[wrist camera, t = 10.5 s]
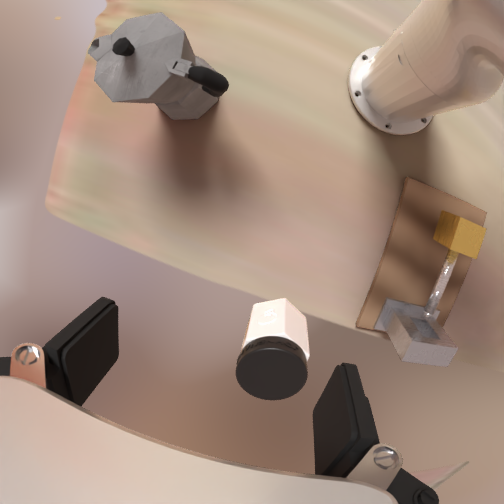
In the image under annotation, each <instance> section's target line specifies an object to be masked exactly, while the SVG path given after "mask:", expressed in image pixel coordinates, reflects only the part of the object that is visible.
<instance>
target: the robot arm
mask: <svg viewBox="0 0 504 504" xmlns="http://www.w3.org/2000/svg"><path fill="white" fill-rule="evenodd" d="M362 58H363V59H365V61H364V60H363V59H362ZM503 80H504V0H422V1H421V2H420V4H419V5H418V6H417V7H416V8H415V10H414V11H413V12H412V13H411V14H410V15H409V16H408V17H407V19H406V20H405V21H404V22H403V23H402V24H401V25H400V27H399V28H398V29H395V30H394V31H393V34H392V36H391V37H390V38H389V39H388V40H387V41H386V43H385V44H384V45H383V46H376V47H372V48H369V49H367V50H365V51H364V52H362V53H361V54H360V55H359V56H358V57H357V58H356V59H355V60H354V62H353V63H352V66H351V68H350V70H349V75H348V88H349V93H350V96H351V99H352V101H353V103H354V105H355V107H356V108H357V110H358V112H359V113H360V114H361V115H362V116H363V118H364V119H365V120H367V121H368V122H369V123H370V124H371V125H373V126H374V127H376V128H377V129H379V130H381V131H384V132H386V133H389V134H394V135H408V134H412V133H416V132H418V131H420V130H421V129H423V128H424V127H426V126H427V125H428V124H429V122H430V121H431V119H432V117H433V115H436V114H440V113H444V112H448V111H452V110H456V109H460V108H464V107H468V106H472V105H476V104H480V103H482V102H485V101H487V100H488V99H490V98H491V97H493V96H494V95H495V93H496V92H497V91H498V90H499V88H500V87H501V84H502V82H503ZM355 94H358V97H356V96H355ZM421 119H422V121H421ZM385 125H387V126H388V128H386V126H385ZM118 345H119V344H118V306H117V305H115V302H114V301H113V300H110V299H108V298H105V297H101V298H100V299H98V300H97V301H96V302H95V303H93V304H92V305H91V306H90V307H89V308H87V309H86V310H85V311H84V312H83V313H81V314H80V315H79V316H78V317H77V318H75V319H74V320H73V321H72V322H71V323H69V324H68V325H67V326H66V327H65V328H64V329H62V330H61V331H60V332H59V333H58V334H57V335H55V336H54V337H53V338H52V339H51V340H50V341H49V342H47V343H46V344H45V346H44V347H43V348H41V347H39V346H38V345H36V344H33V343H23V344H21V345H18V346H17V347H16V348H15V349H14V350H13V351H12V355H11V357H0V504H439V499H438V496H437V494H436V492H435V491H434V490H433V489H432V488H430V487H429V486H427V485H426V484H424V483H423V482H421V481H420V480H418V479H417V478H415V477H414V476H412V475H411V474H409V473H408V472H406V471H405V470H404V469H402V468H401V466H402V462H403V458H402V456H401V453H400V452H399V451H398V450H397V449H396V448H395V447H393V446H391V445H389V444H385V443H382V444H380V443H379V439H378V434H377V430H376V426H375V422H374V418H373V415H372V411H371V407H370V404H369V400H368V398H367V397H366V396H365V394H364V390H363V387H362V383H361V379H360V376H359V373H358V369H357V366H356V365H354V364H349V363H342V364H341V365H340V366H339V365H337V366H336V368H335V370H334V372H333V374H332V376H331V378H330V380H329V382H328V384H327V386H326V388H325V389H324V391H323V393H322V395H321V397H320V399H319V401H318V402H317V404H316V406H315V408H314V410H313V429H314V451H315V475H314V474H305V473H295V472H289V471H282V470H276V469H269V468H263V467H258V466H252V465H247V464H242V463H238V462H233V461H228V460H224V459H220V458H216V457H212V456H209V455H205V454H201V453H198V452H194V451H190V450H187V449H184V448H181V447H177V446H175V445H172V444H169V443H166V442H163V441H160V440H157V439H154V438H152V437H149V436H146V435H144V434H141V433H138V432H136V431H133V430H131V429H128V428H126V427H124V426H121V425H119V424H117V423H114V422H112V421H110V420H108V419H106V418H103V417H101V416H99V415H97V414H95V413H93V412H91V411H89V410H87V409H85V408H83V407H81V406H82V404H83V403H84V402H85V401H86V399H87V398H88V397H89V396H90V394H91V393H92V391H93V390H94V389H95V388H96V386H97V385H98V384H99V383H100V381H101V380H102V379H103V377H104V376H105V375H106V374H107V372H108V371H109V370H110V368H111V367H112V366H113V365H114V363H115V362H116V361H117V359H118V355H119V346H118Z"/></svg>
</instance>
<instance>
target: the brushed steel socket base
mask: <svg viewBox="0 0 504 504" xmlns="http://www.w3.org/2000/svg"><path fill="white" fill-rule="evenodd" d="M424 308H425V306H421V305H417V304H413V303H409V302H405V301H401V300H397V299H392V298H388V297H386V299H385V301H384V304H383V306H382V308H381V310H380V313H379V315H378V317H377V320H376V322H375V324H374V326H373V328H374V329H377V330H382V331H386V332H387V334H388V336H389V338H390V340H391V341H392V343H393V345H394V347H395V349H396V351H397V353H398V355H399V357H400V359H401V361H403V362H412V363H418V364H426V365H435V366H444V367H448V365H449V364H450V362H451V360H452V359H453V357H454V355H455V354H456V352H457V350H458V347H457V346H456V345H455V343H454V342H453V341H452V339H451V338H450V337H449V335H448V334H447V333H446V332H445V330H444V329H443V328H442V327H441V325H440V324H439V323H438V322H437V320H436V319H437V317H438V315H439V313H440V311H439V310H438V309H436V310H435V312H434V314H433V316H432V317H430V318H427V317H425V316H424V314H423V310H424Z"/></svg>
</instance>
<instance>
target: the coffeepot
mask: <svg viewBox="0 0 504 504" xmlns="http://www.w3.org/2000/svg"><path fill="white" fill-rule="evenodd" d="M88 54H90V55H91V56H92V57H93V58H94V59H95V60H96V61H97V65H96V71H95V78H94V81H95V82H96V83H97V84H98V85H99V87H100V88H101V89H102V90H103V91H104V92H105V94H106V95H107V96H108V97H109V98H110V99H111V101H112V102H130V103H155V104H156V105H157V106H158V107H159V108H160V109H161V110H162V111H163V112H164V113H166V114H167V115H168V116H169V117H170V118H171V119H172V120H178V119H179V120H186V119H198V118H200V117H201V116H202V115H203V114H204V113H205V112H207V111H208V110H209V109H210V108H211V107H212V106H213V105H214V104H215V103H216V102H217V101H218V98H219V97H220V96H221V95H222V94H223V93H224V92H225V91H227V89H228V87H229V84H228V81H227V79H226V78H225V77H224V76H223V75H221V74H219V73H217V72H216V71H215V70H214V69H213V68H212V67H211V66H210V65H209V64H208V63H207V62H206V61H205V60H203V59H201V58H199V57H197V56H195V55H194V53H193V50H192V48H191V46H190V43H189V41H188V39H187V36H186V34H185V31H184V30H183V29H181V28H180V27H179V26H178V25H177V24H175V23H174V22H173V21H172V20H170V19H169V18H168V17H167V16H165V15H164V14H163V13H162V12H161V13H155V14H150V15H145V16H140V17H135V18H131V19H127V20H126V21H125V22H123V23H122V24H121V25H120V26H119V27H118V28H117V29H116V30H115V31H114V32H113V33H112V34H111V35H106V36H102V37H99V38H96V39H95V40H94V41H93V42H92V44H91V47H90V48H89V50H88Z"/></svg>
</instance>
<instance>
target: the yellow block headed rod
mask: <svg viewBox="0 0 504 504" xmlns="http://www.w3.org/2000/svg"><path fill="white" fill-rule="evenodd" d="M485 232H486V228H484V227H482V226H479V225H477V224H475V223H473V222H471V221H469V220H466V219H464V218H462V217H459V216H457V215H454V214H452V213H449V212H446V211H444V210H442V211H441V214H440V218H439V221H438V224H437V227H436V230H435V233H434V237H433V239H434V240H435V241H437V242H439V243H440V244H442V245H444V246H445V247H447V248H449V249H448V251H447V254H446V257H445V260H444V262H443V265H442V268H441V270H440V273H439V275H438V278H437V280H436V283H435V285H434V288H433V290H432V292H431V295H430V297H429V299H428V301H427V304H426V306H425V308H424V310H423V314H424V316H425V317H427V318H430V317H432V316H433V314H434V312H435V310H436V308H437V306H438V304H439V302H440V299H441V297H442V295H443V293H444V290H445V288H446V285H447V283H448V281H449V278H450V276H451V273H452V271H453V268H454V265H455V263H456V260H457V257H458V255H459V253H461V254H464V255H467V256H469V257H472V258H474V259H477V256H478V253H479V250H480V247H481V244H482V241H483V238H484V235H485Z"/></svg>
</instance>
